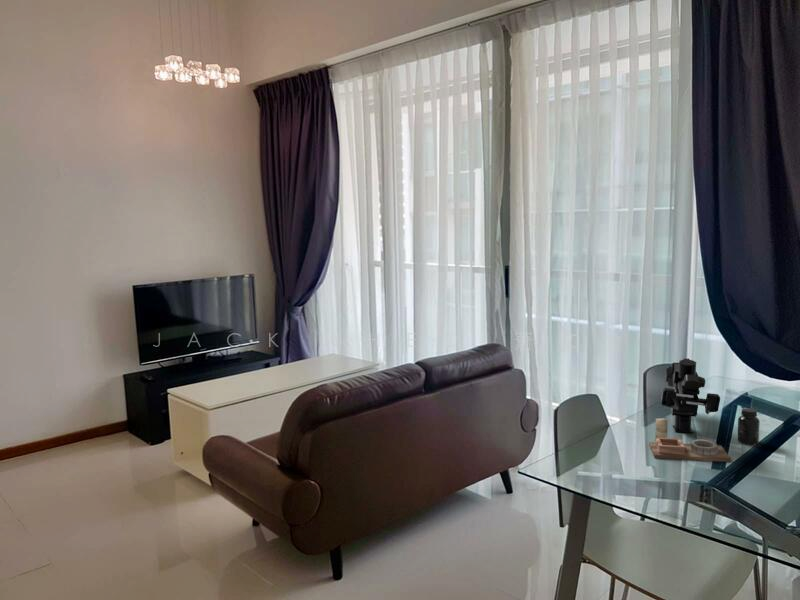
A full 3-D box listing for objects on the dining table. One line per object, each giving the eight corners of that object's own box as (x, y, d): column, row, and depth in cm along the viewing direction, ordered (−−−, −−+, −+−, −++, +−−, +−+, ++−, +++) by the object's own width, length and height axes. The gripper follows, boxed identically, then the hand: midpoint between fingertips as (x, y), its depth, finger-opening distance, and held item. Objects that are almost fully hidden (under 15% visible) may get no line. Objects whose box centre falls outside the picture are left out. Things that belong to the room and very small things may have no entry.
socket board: (648, 445, 225) (649, 435, 224) (720, 448, 219) (721, 438, 218) (654, 458, 213) (654, 447, 212) (730, 461, 207) (730, 451, 207)
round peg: (654, 438, 231) (654, 418, 229) (665, 439, 230) (666, 418, 229) (656, 442, 227) (656, 421, 226) (667, 443, 226) (668, 422, 225)
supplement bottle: (761, 445, 220) (763, 413, 218) (740, 445, 221) (742, 412, 220) (754, 438, 227) (756, 407, 225) (734, 438, 228) (735, 406, 226)
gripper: (663, 367, 226) (667, 386, 212) (718, 373, 221) (727, 393, 207) (659, 394, 230) (663, 415, 216) (713, 401, 225) (721, 422, 211)
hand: (693, 411), depth 213 cm, fingers open, 9 cm apart
